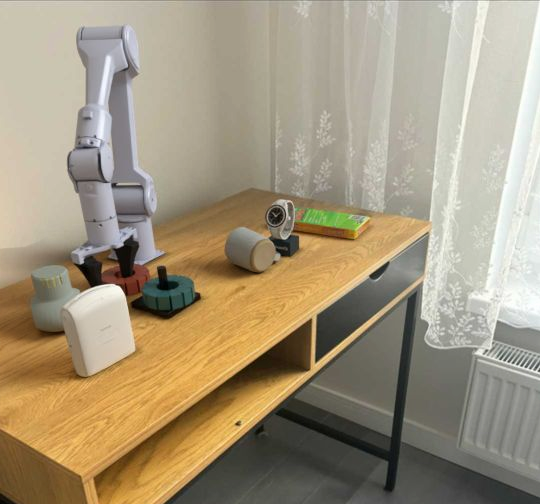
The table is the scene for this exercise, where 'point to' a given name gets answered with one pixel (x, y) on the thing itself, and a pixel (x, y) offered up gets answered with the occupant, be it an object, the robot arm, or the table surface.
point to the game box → (329, 223)
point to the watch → (282, 227)
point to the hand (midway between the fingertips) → (113, 285)
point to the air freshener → (50, 296)
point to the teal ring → (168, 293)
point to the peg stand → (164, 286)
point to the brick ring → (127, 279)
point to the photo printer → (97, 328)
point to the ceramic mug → (250, 250)
